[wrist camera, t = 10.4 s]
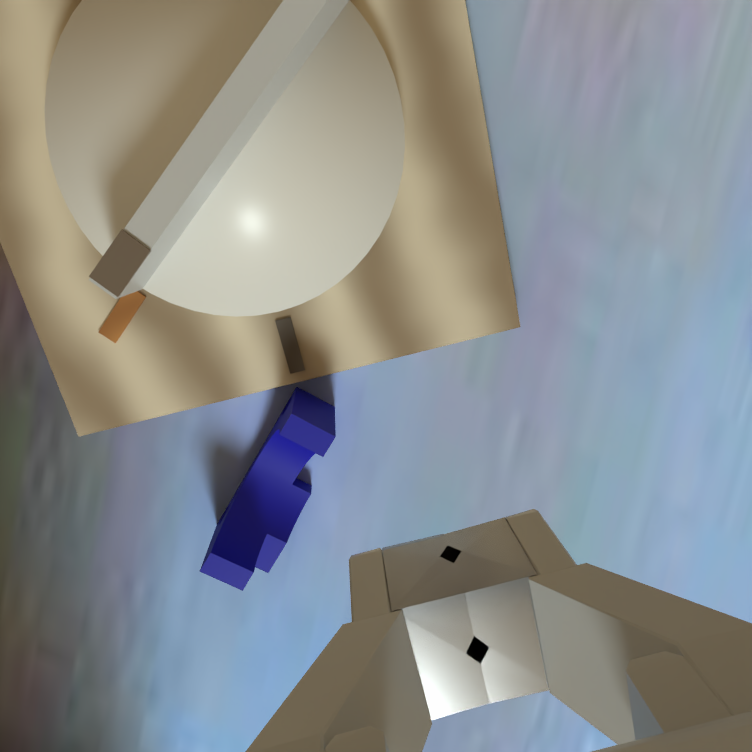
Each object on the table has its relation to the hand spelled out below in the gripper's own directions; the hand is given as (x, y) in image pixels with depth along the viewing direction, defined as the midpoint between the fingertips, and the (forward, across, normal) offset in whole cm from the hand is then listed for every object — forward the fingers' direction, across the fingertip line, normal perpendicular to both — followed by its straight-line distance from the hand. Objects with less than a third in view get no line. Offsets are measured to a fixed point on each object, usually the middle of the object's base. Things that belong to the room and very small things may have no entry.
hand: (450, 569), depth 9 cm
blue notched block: (+31, +8, +11) cm, 34 cm away
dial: (+29, +5, -11) cm, 32 cm away
